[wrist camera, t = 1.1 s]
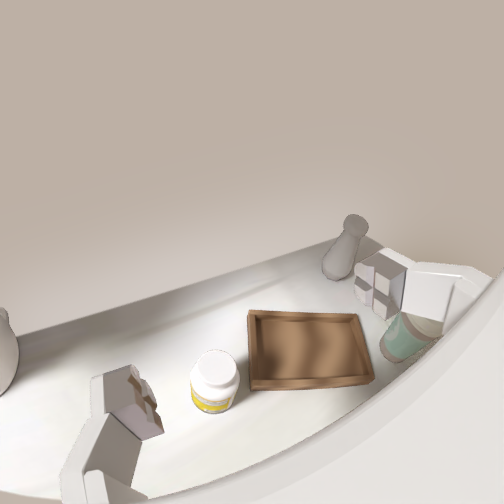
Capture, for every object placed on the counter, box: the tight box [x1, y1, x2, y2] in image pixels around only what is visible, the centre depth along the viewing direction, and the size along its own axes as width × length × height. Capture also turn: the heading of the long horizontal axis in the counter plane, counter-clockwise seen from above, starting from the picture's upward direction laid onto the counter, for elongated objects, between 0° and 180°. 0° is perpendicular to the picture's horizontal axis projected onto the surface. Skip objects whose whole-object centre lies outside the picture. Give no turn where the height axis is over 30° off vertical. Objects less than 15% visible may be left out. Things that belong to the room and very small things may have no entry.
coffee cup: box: [380, 310, 444, 363], centre depth 39 cm, size 9×8×12 cm
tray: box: [247, 310, 375, 391], centre depth 40 cm, size 18×12×2 cm, turn 93°
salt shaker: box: [322, 214, 369, 281], centre depth 50 cm, size 6×6×13 cm
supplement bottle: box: [190, 350, 240, 414], centre depth 30 cm, size 5×5×10 cm
